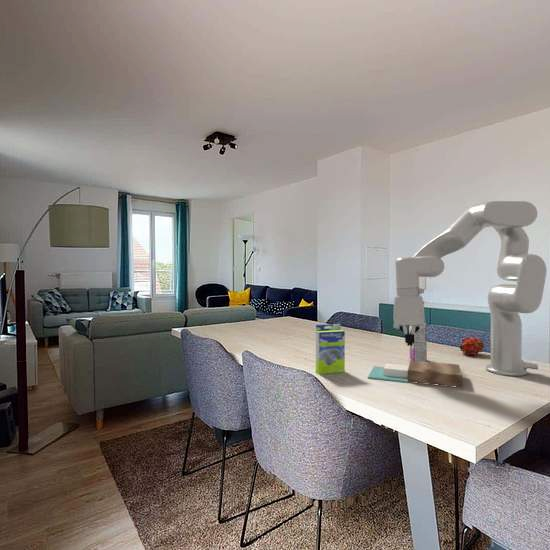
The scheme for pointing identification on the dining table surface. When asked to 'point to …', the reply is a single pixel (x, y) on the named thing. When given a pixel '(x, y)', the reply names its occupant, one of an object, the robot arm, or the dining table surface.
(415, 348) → the candy bar box
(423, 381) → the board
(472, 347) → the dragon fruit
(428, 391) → the dining table surface
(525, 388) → the dining table surface
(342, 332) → the box
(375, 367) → the mat
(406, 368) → the tile
